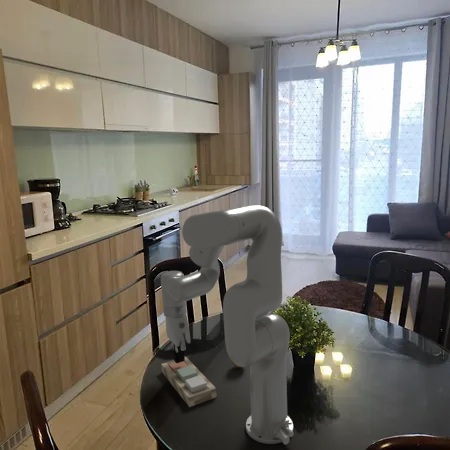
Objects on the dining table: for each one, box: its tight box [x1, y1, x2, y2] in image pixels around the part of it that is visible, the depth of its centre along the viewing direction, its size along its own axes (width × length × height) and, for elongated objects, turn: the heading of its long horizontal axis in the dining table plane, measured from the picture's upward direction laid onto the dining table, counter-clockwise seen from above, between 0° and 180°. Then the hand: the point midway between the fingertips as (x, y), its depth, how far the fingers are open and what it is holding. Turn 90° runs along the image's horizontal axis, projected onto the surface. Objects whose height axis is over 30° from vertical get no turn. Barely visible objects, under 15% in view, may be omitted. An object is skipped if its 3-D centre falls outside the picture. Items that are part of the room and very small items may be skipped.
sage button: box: [177, 366, 197, 382], centre depth 132 cm, size 5×5×3 cm
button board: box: [160, 356, 217, 408], centre depth 132 cm, size 23×9×3 cm, turn 29°
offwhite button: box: [185, 375, 207, 393], centre depth 126 cm, size 5×5×3 cm
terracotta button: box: [169, 361, 188, 372], centre depth 138 cm, size 5×5×3 cm
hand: (179, 361), depth 137 cm, fingers closed
